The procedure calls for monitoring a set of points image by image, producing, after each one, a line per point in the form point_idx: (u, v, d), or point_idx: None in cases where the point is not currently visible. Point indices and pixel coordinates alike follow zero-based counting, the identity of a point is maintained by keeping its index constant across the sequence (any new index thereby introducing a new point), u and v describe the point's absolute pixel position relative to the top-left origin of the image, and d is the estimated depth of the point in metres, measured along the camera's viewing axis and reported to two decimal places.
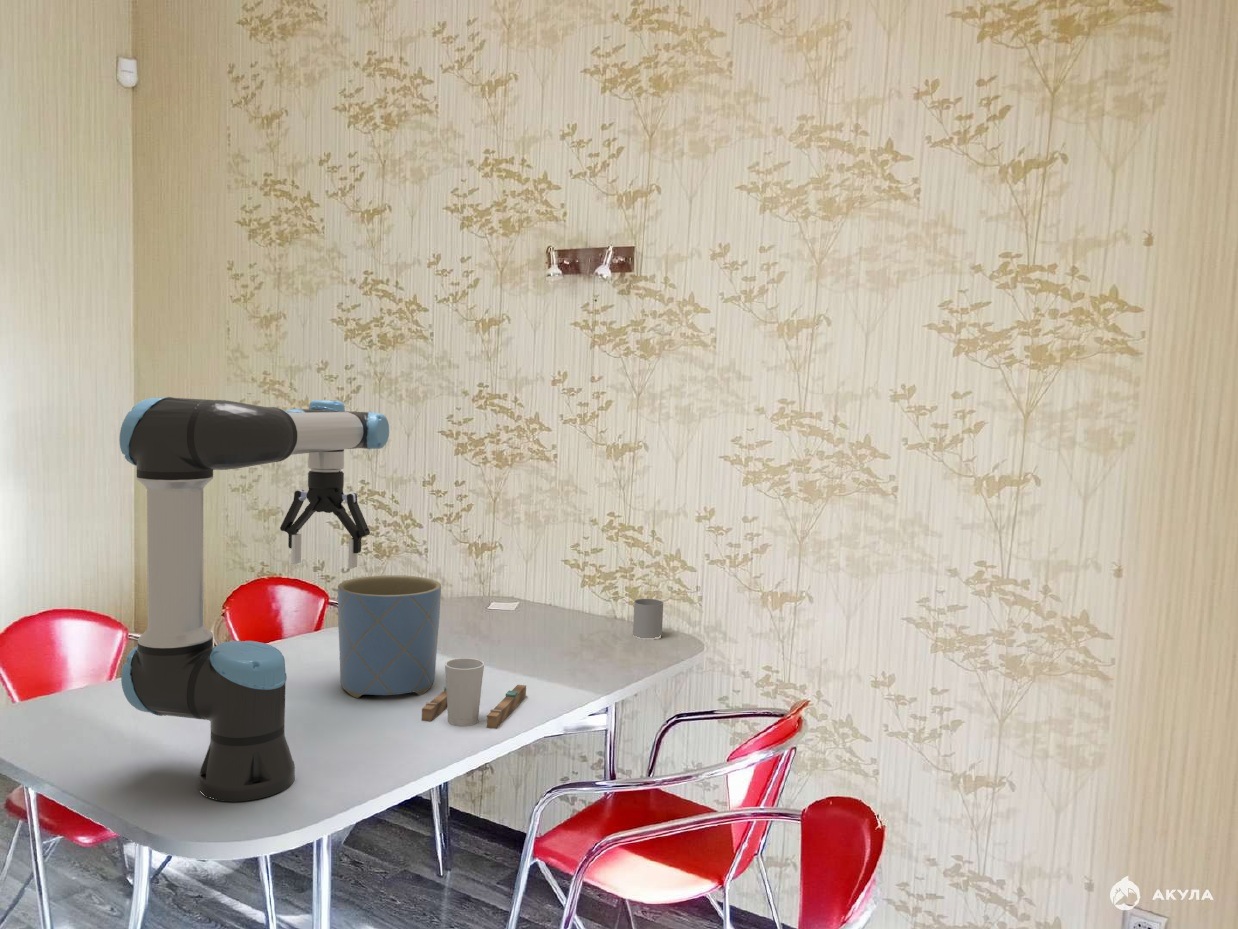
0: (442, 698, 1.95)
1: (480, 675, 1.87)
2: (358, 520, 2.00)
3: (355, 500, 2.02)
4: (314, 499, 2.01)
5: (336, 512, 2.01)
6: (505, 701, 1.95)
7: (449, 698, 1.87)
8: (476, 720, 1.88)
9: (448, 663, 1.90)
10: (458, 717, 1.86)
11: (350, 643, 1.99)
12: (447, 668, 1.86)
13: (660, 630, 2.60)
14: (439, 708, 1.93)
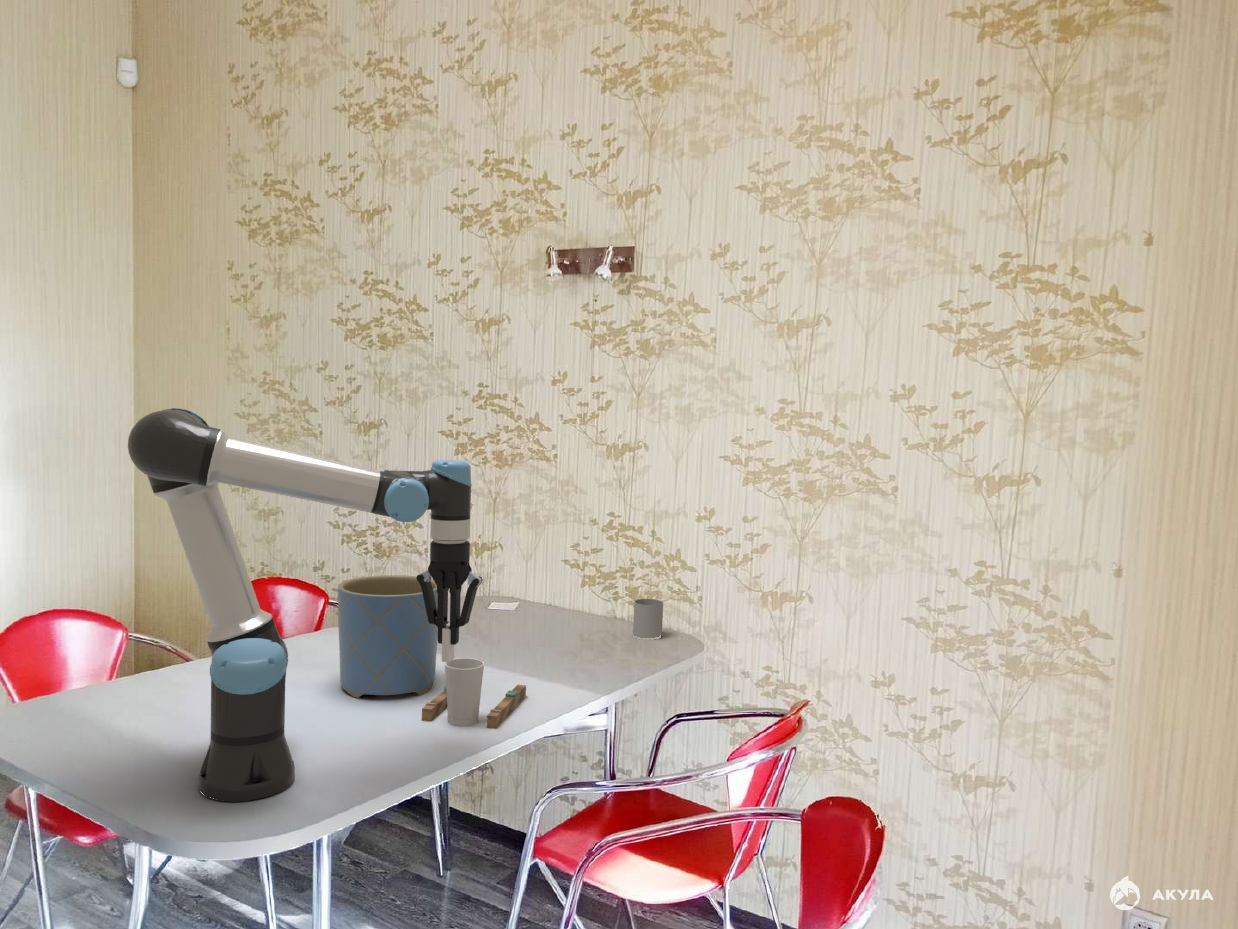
0: (442, 698, 1.95)
1: (480, 675, 1.87)
2: (467, 609, 1.76)
3: (477, 586, 1.77)
4: (438, 575, 1.76)
5: (452, 592, 1.76)
6: (505, 701, 1.95)
7: (449, 698, 1.87)
8: (476, 720, 1.88)
9: (448, 664, 1.90)
10: (458, 717, 1.86)
11: (350, 643, 1.99)
12: (447, 668, 1.86)
13: (660, 630, 2.60)
14: (439, 708, 1.93)
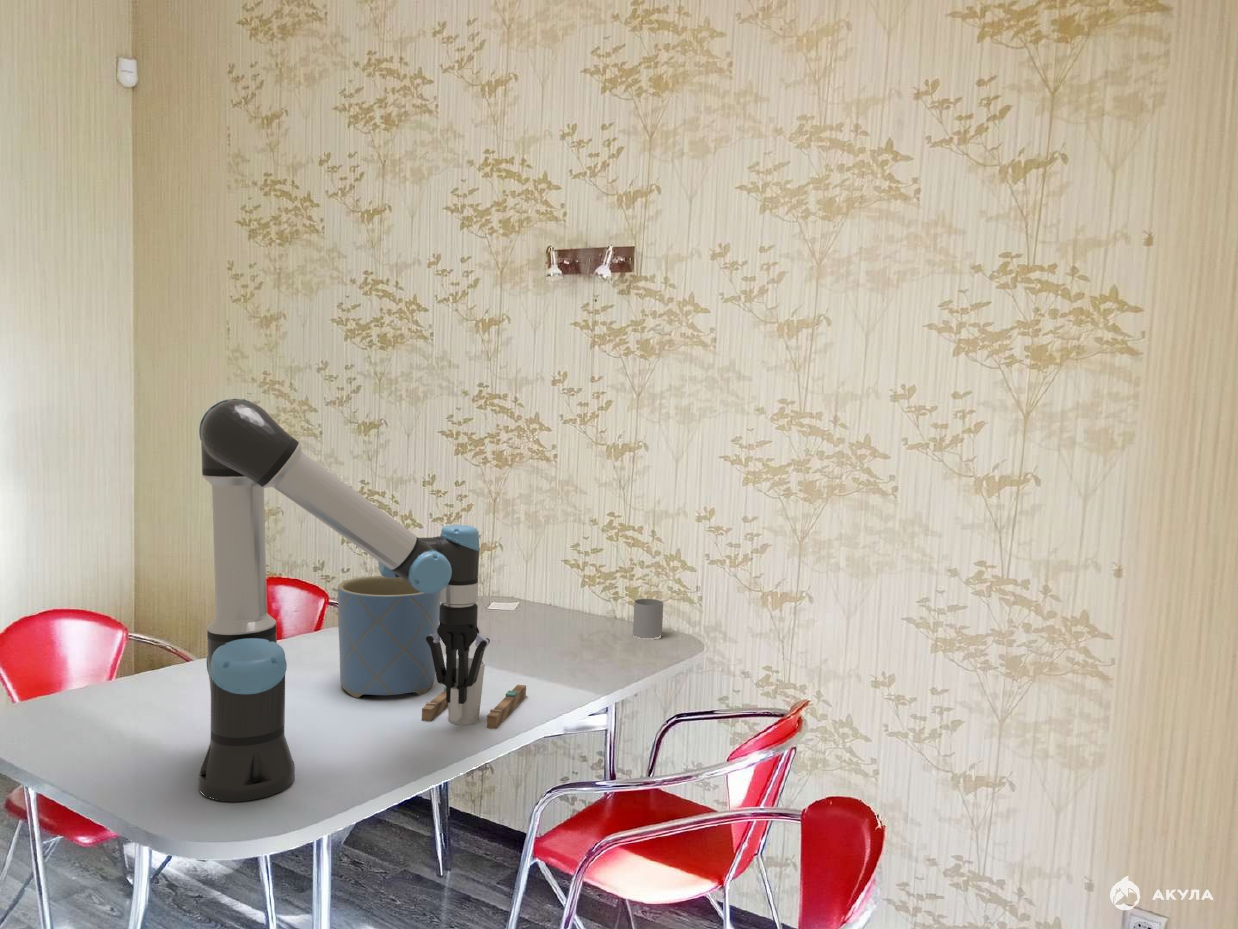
0: (442, 698, 1.95)
1: (481, 674, 1.88)
2: (474, 669, 1.82)
3: (485, 647, 1.83)
4: (447, 637, 1.82)
5: (460, 654, 1.82)
6: (505, 701, 1.95)
7: None
8: (477, 719, 1.89)
9: None
10: None
11: (350, 643, 1.99)
12: None
13: (660, 630, 2.60)
14: (439, 708, 1.93)
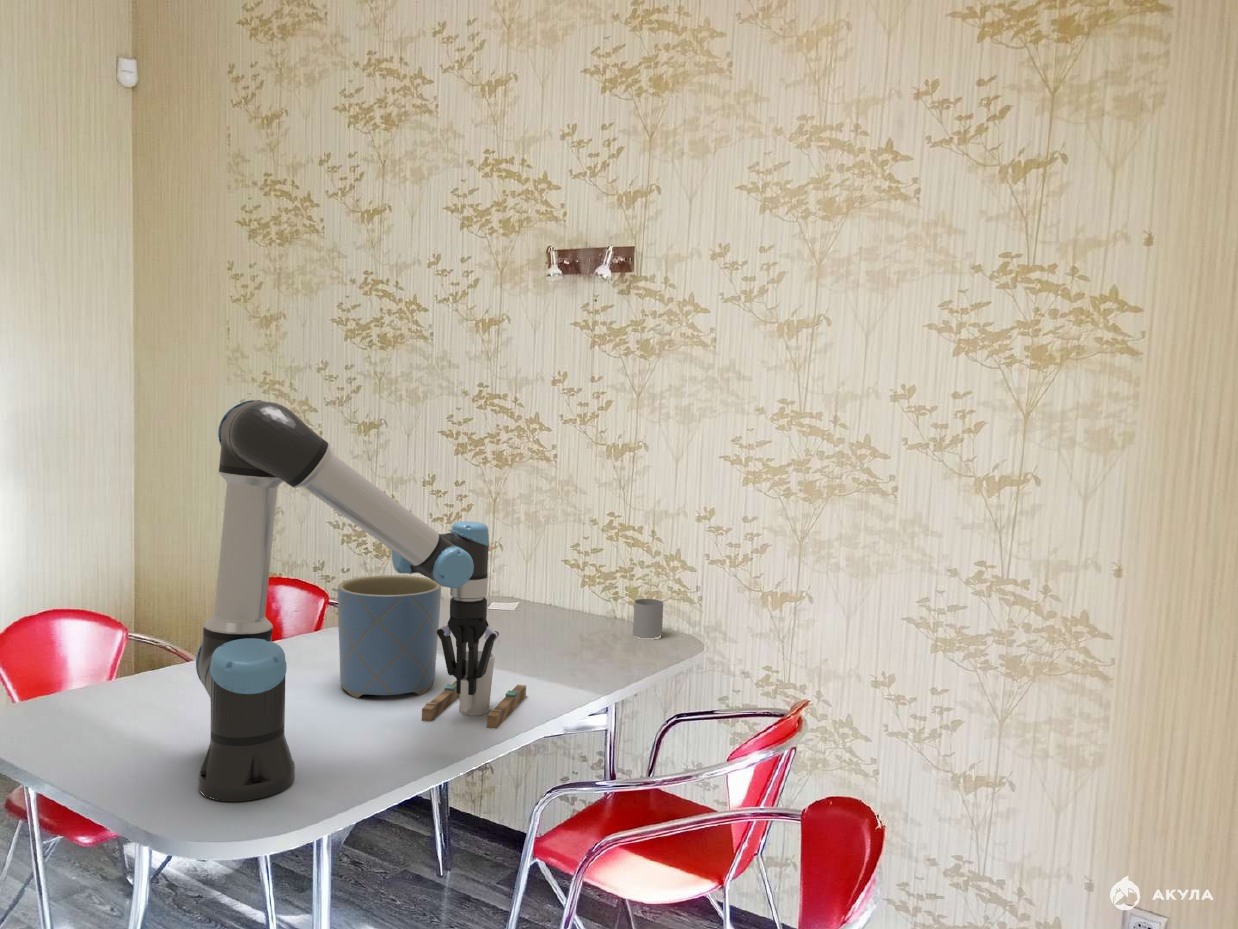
0: (442, 698, 1.95)
1: (490, 667, 1.93)
2: (484, 662, 1.88)
3: (494, 640, 1.88)
4: (457, 630, 1.87)
5: (470, 646, 1.87)
6: (505, 701, 1.95)
7: None
8: (486, 710, 1.94)
9: None
10: None
11: (350, 643, 1.99)
12: None
13: (660, 630, 2.60)
14: (439, 708, 1.93)
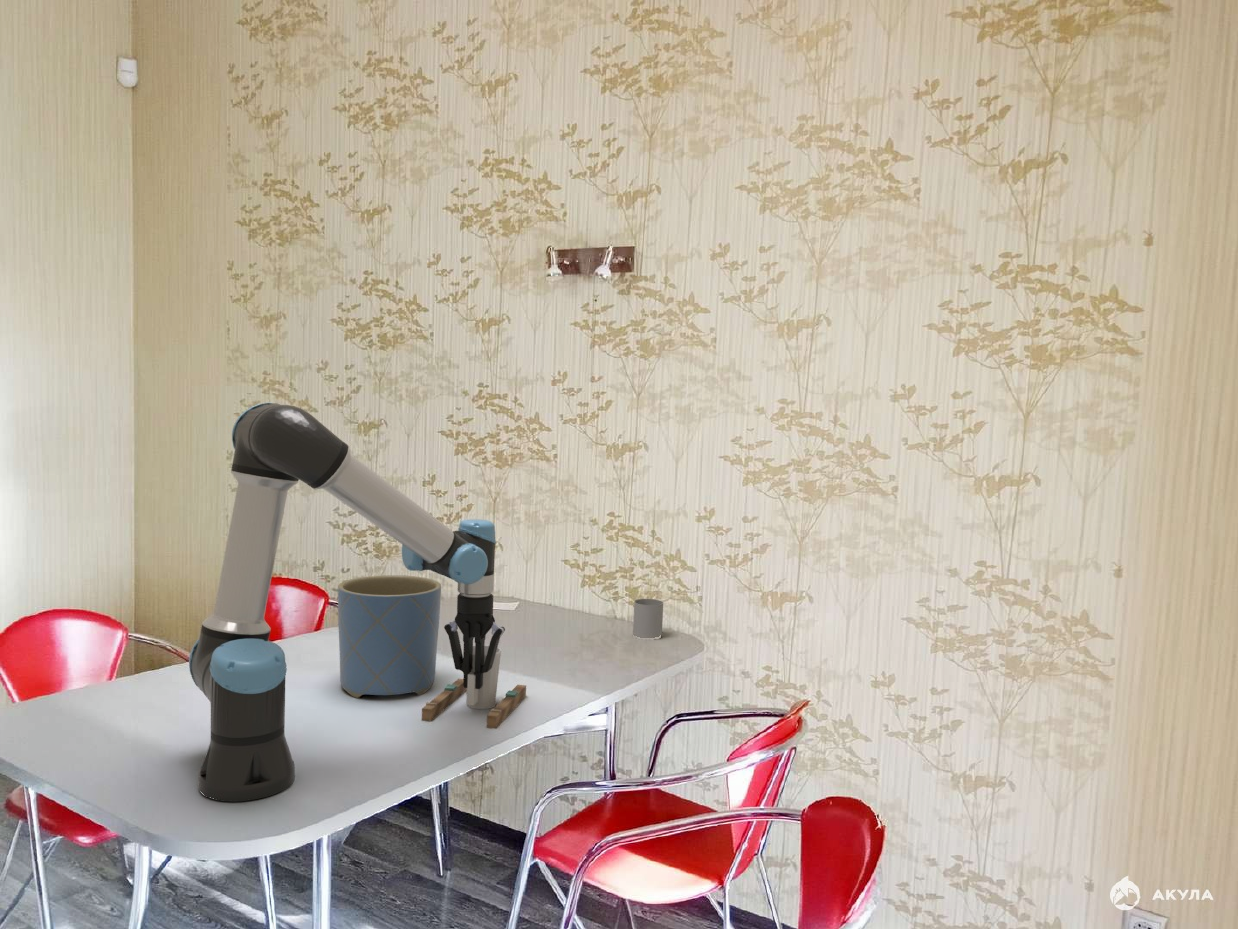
0: (442, 698, 1.95)
1: (496, 661, 1.97)
2: (490, 656, 1.92)
3: (500, 635, 1.93)
4: (464, 625, 1.92)
5: (477, 641, 1.92)
6: (505, 701, 1.95)
7: None
8: (493, 704, 1.98)
9: None
10: None
11: (350, 643, 1.99)
12: None
13: (660, 630, 2.60)
14: (439, 708, 1.93)
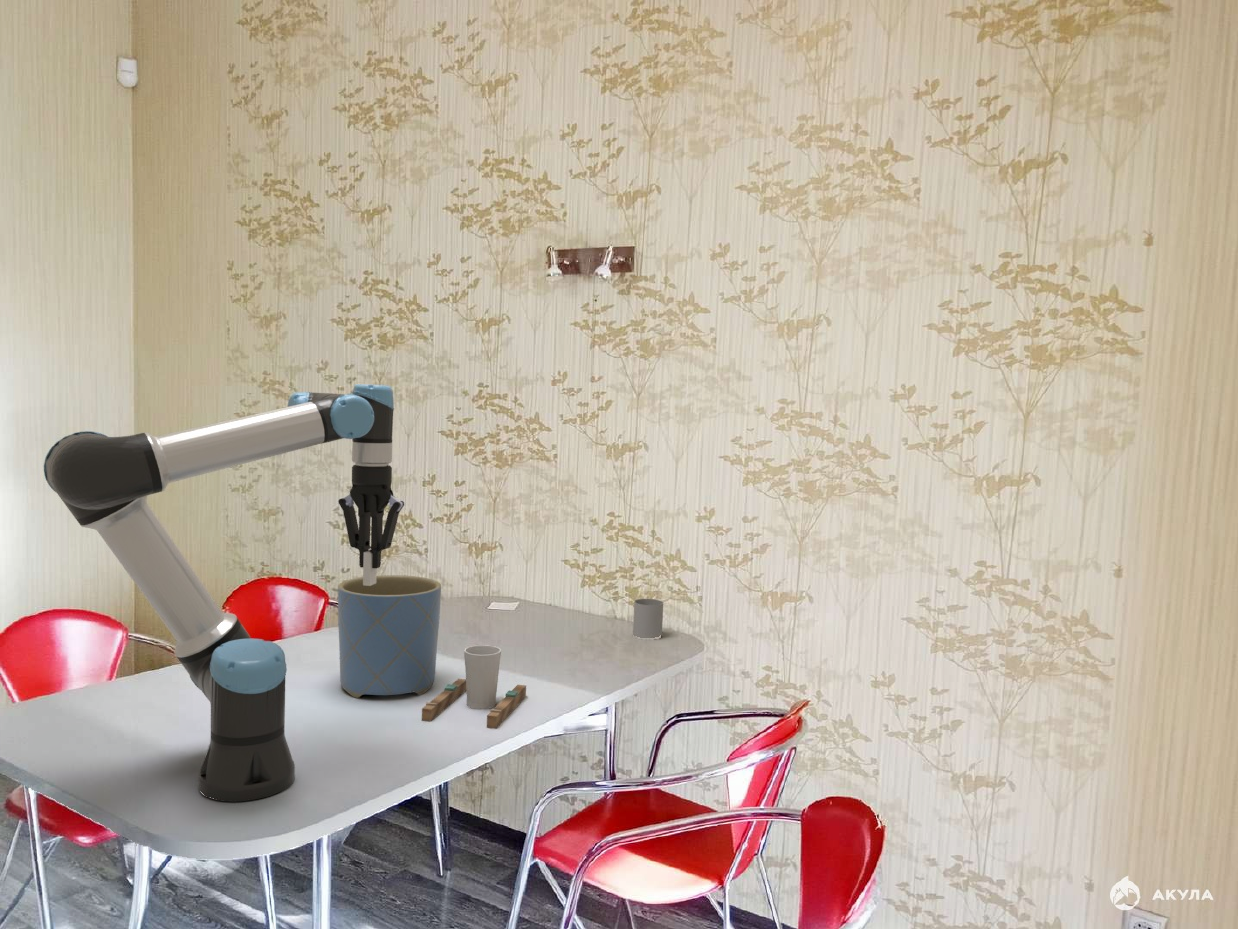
0: (442, 698, 1.95)
1: (496, 661, 1.97)
2: (388, 532, 1.77)
3: (399, 510, 1.78)
4: (359, 498, 1.77)
5: (373, 516, 1.77)
6: (505, 701, 1.95)
7: (467, 682, 1.97)
8: (493, 704, 1.98)
9: (468, 650, 2.00)
10: (475, 700, 1.97)
11: (350, 643, 1.99)
12: (465, 654, 1.97)
13: (660, 630, 2.60)
14: (439, 708, 1.93)
